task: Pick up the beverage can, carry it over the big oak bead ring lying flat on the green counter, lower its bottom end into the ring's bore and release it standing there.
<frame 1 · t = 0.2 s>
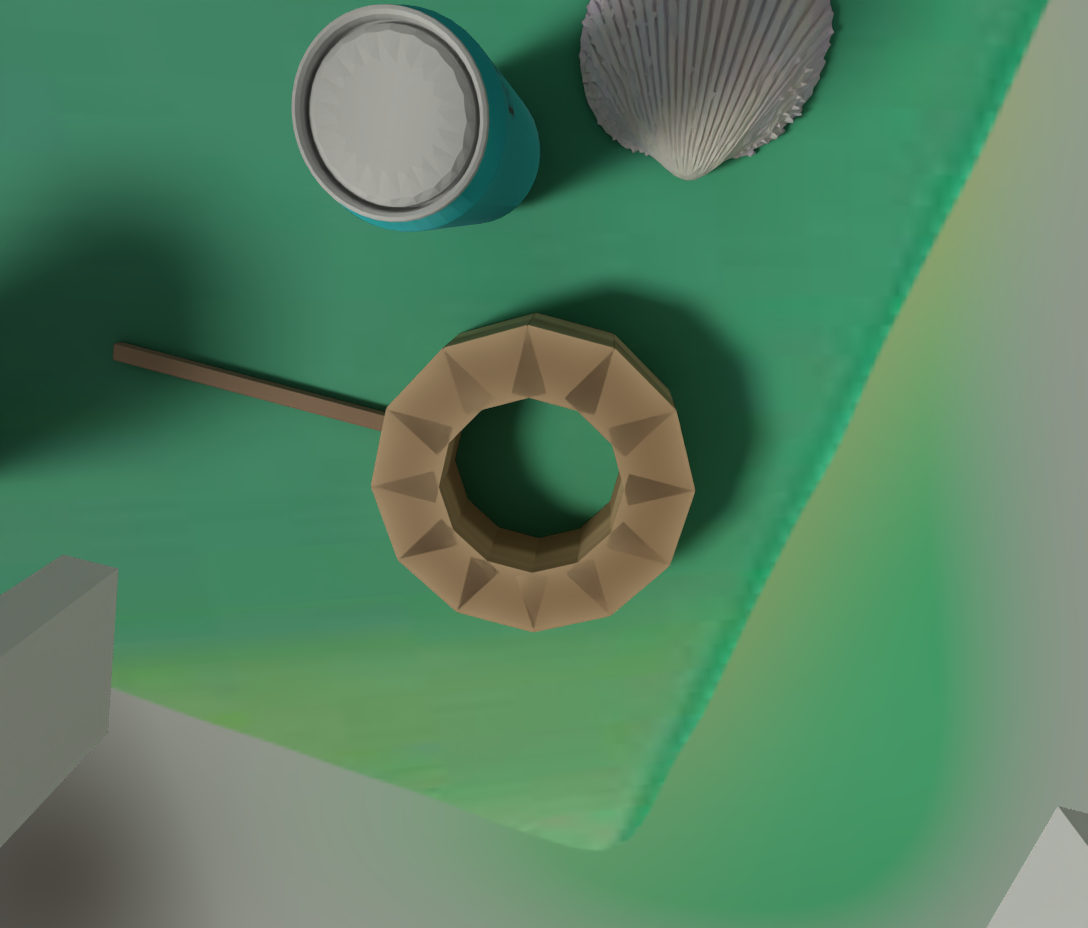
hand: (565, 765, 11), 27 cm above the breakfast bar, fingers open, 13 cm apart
beverage can: (479, 154, 34), on the breakfast bar
seashell: (701, 50, 33), on the breakfast bar
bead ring: (537, 460, 38), on the breakfast bar
brown stick: (258, 386, 38), on the breakfast bar
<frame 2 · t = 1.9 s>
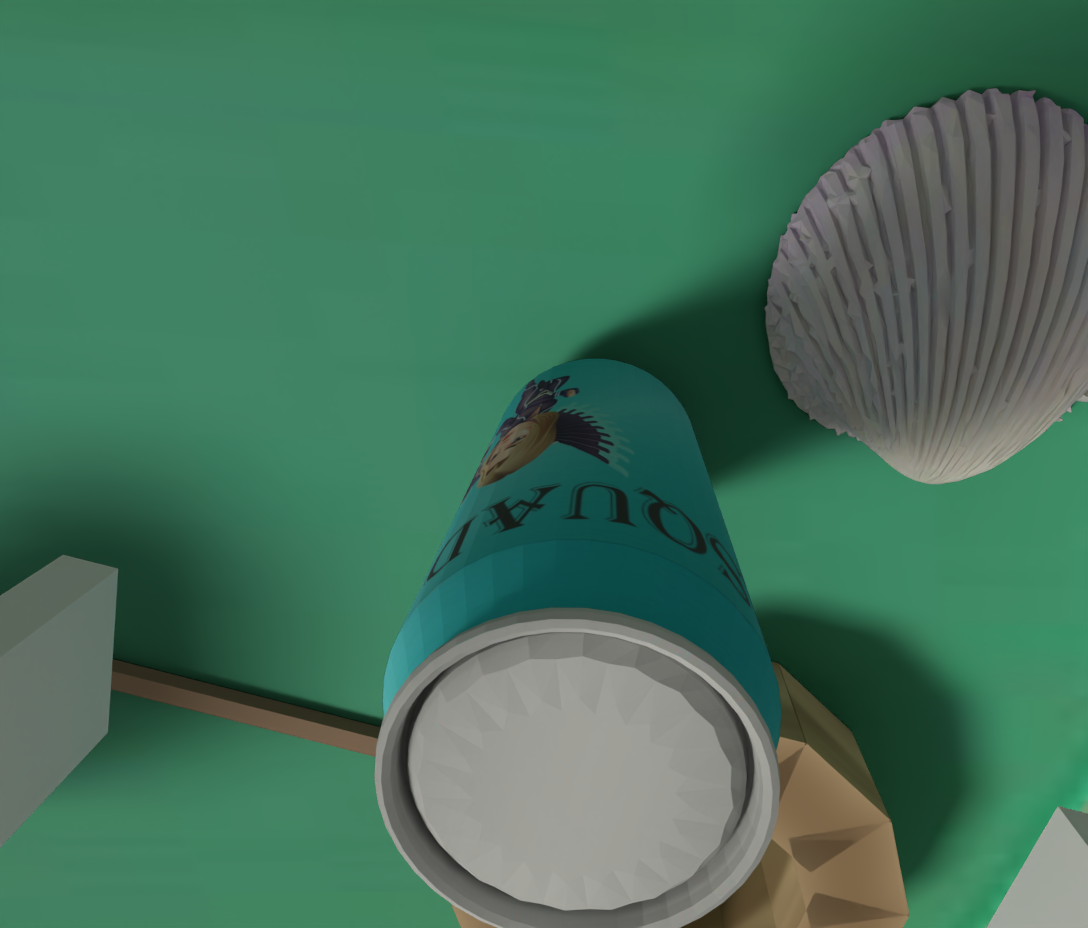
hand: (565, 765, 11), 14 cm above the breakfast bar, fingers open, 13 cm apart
beverage can: (596, 437, 24), on the breakfast bar
seashell: (943, 292, 22), on the breakfast bar
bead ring: (663, 808, 28), on the breakfast bar
brown stick: (286, 712, 28), on the breakfast bar
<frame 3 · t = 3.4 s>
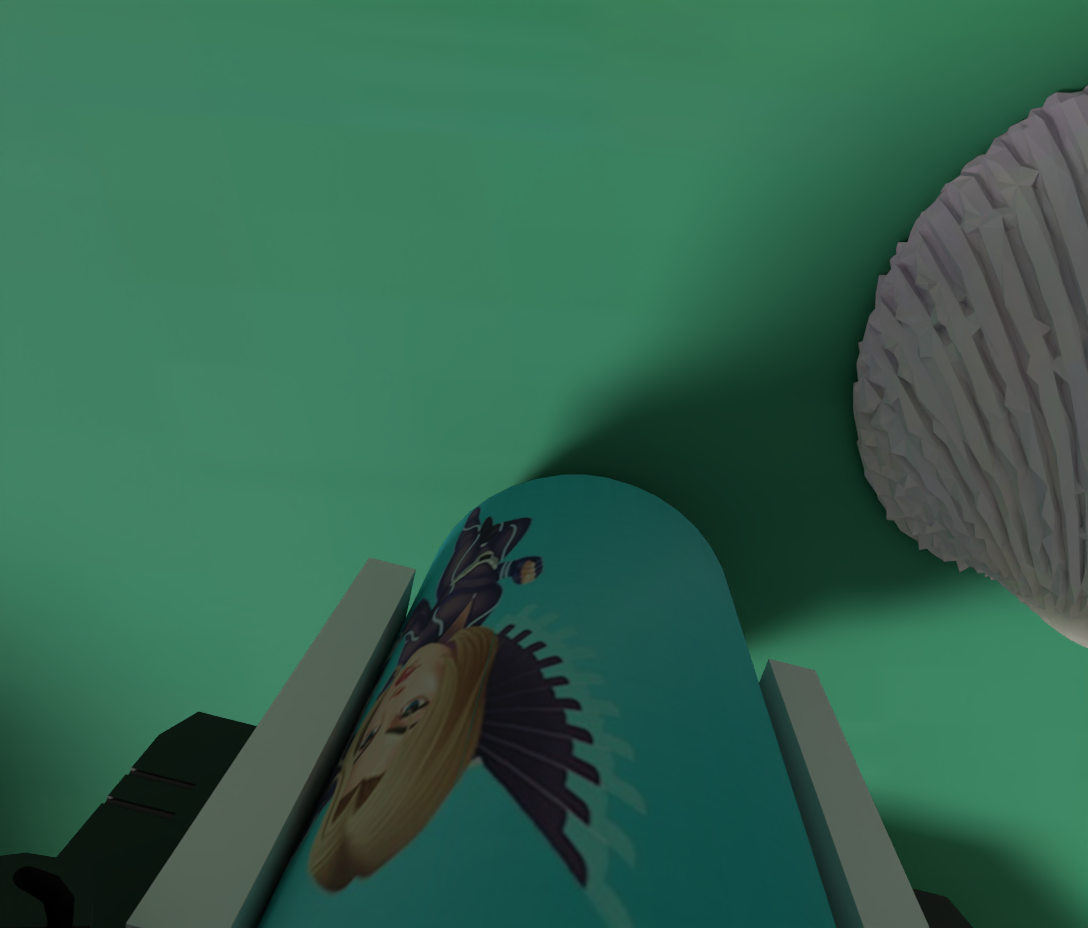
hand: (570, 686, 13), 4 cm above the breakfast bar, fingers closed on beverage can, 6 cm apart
beverage can: (579, 572, 16), on the breakfast bar, touching gripper
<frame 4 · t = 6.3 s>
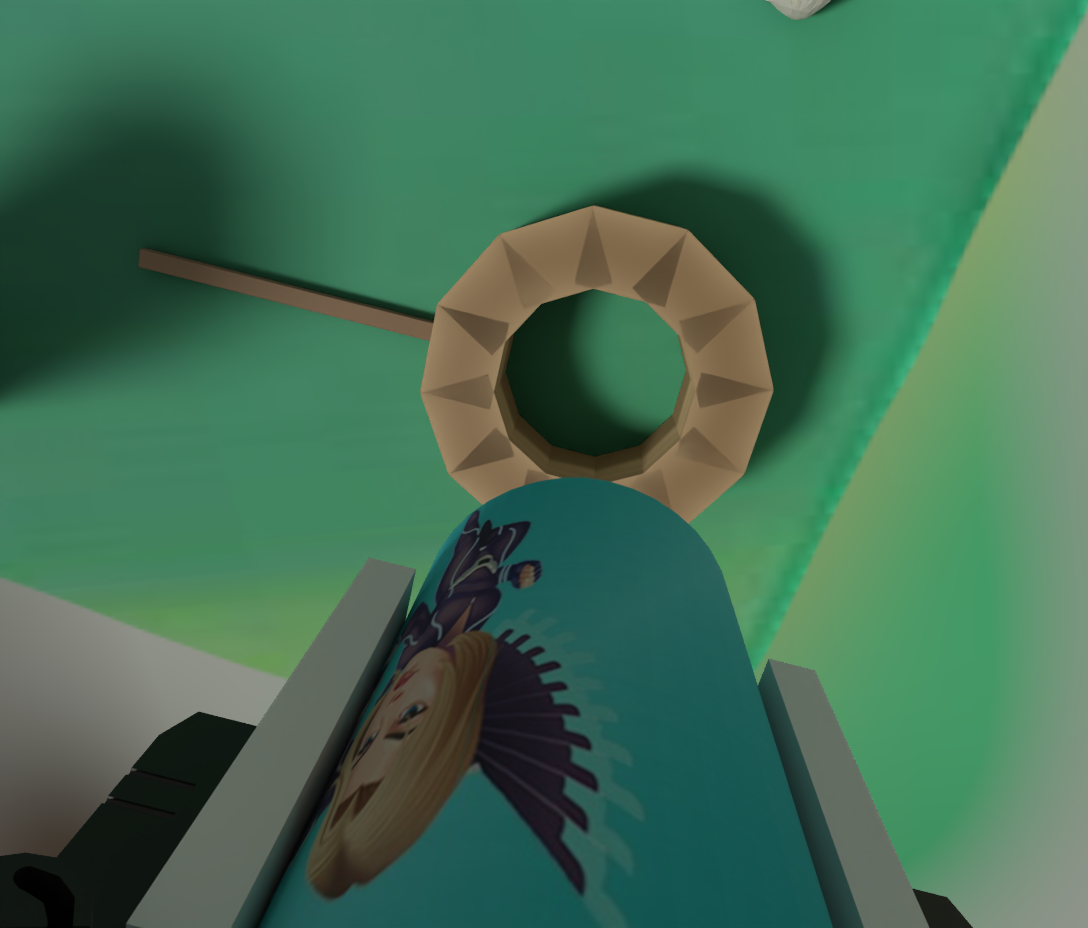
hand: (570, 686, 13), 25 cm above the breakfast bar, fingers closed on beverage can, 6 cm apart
beverage can: (578, 575, 16), point 20 cm above the breakfast bar, touching gripper
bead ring: (595, 371, 36), on the breakfast bar
brown stick: (294, 294, 36), on the breakfast bar
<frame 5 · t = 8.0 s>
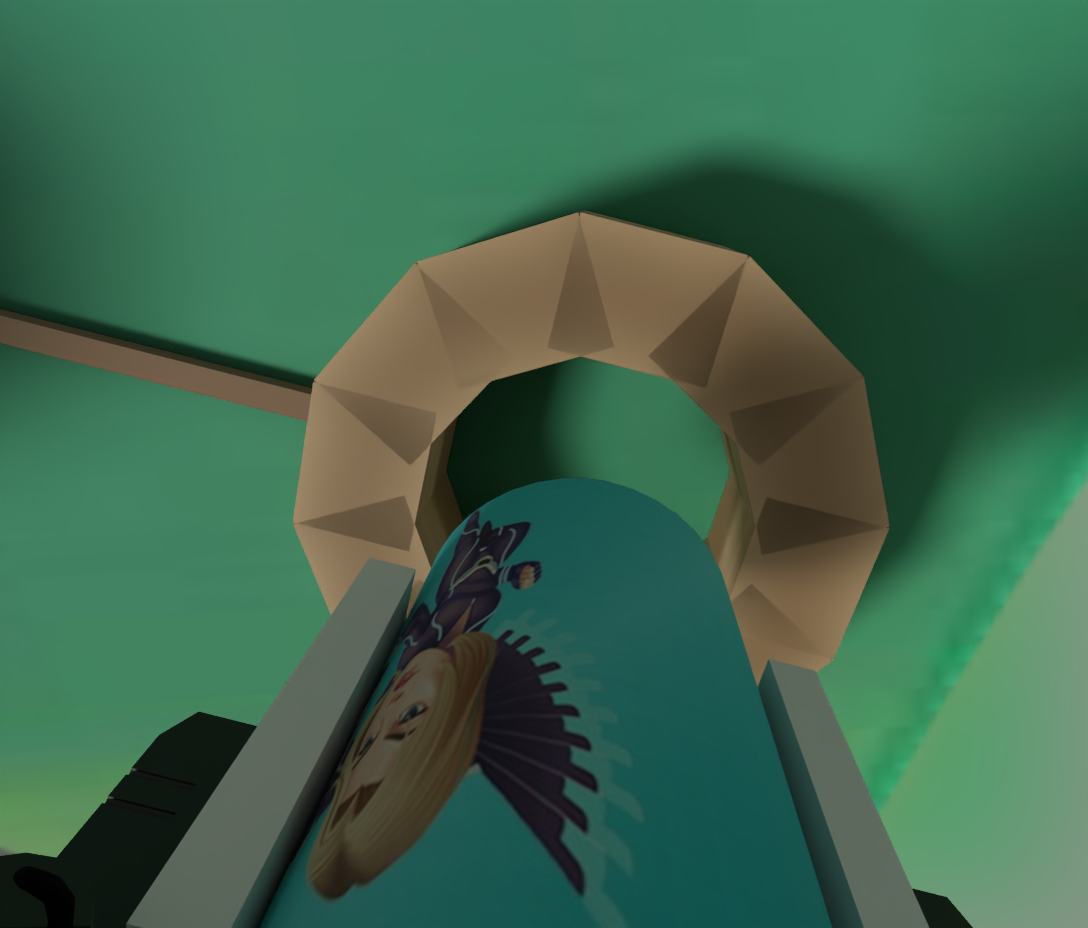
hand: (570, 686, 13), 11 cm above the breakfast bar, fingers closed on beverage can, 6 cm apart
beverage can: (578, 575, 16), point 7 cm above the breakfast bar, touching gripper
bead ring: (586, 471, 23), on the breakfast bar
brown stick: (112, 350, 23), on the breakfast bar
when the fingers open (5 cm above the breakfast bar, at t = 9.5 s): beverage can drops 1 cm, resting in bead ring.
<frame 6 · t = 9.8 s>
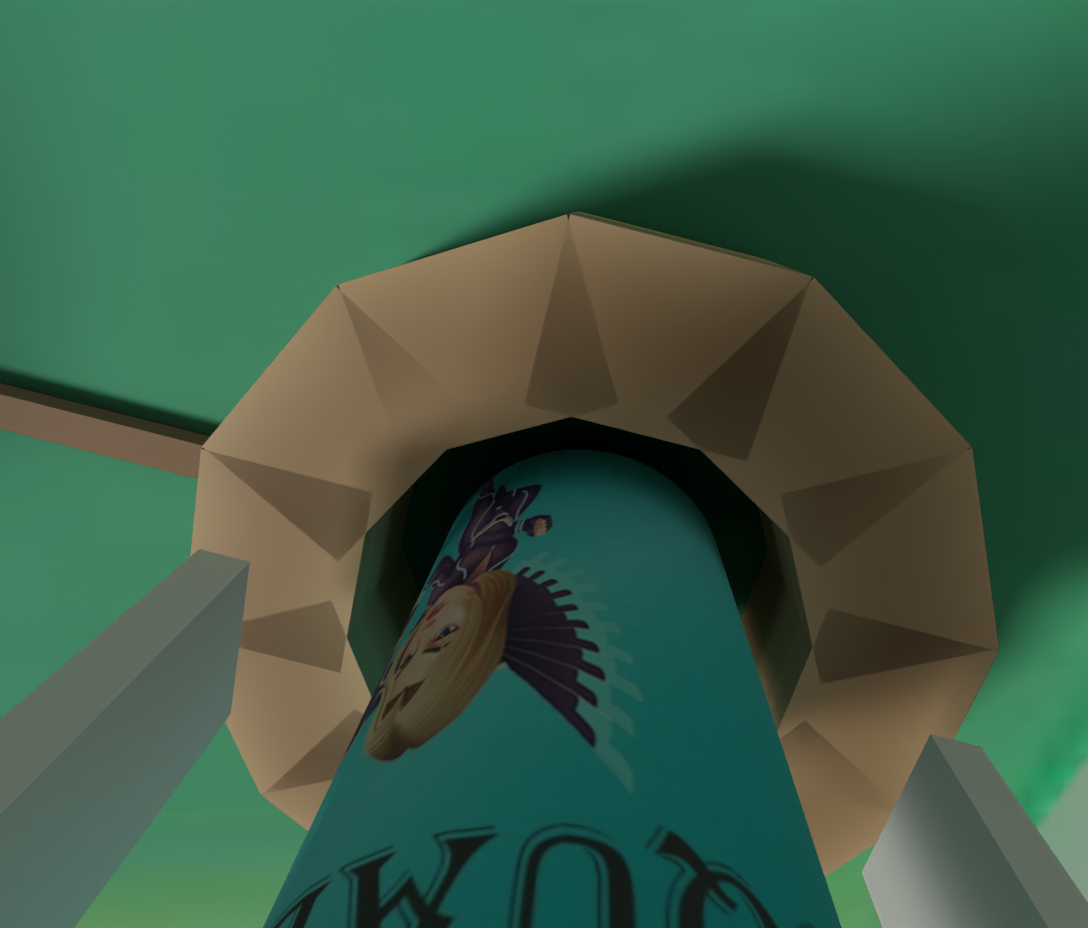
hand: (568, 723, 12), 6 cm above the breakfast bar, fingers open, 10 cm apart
beverage can: (582, 543, 18), resting in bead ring
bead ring: (581, 547, 18), on the breakfast bar
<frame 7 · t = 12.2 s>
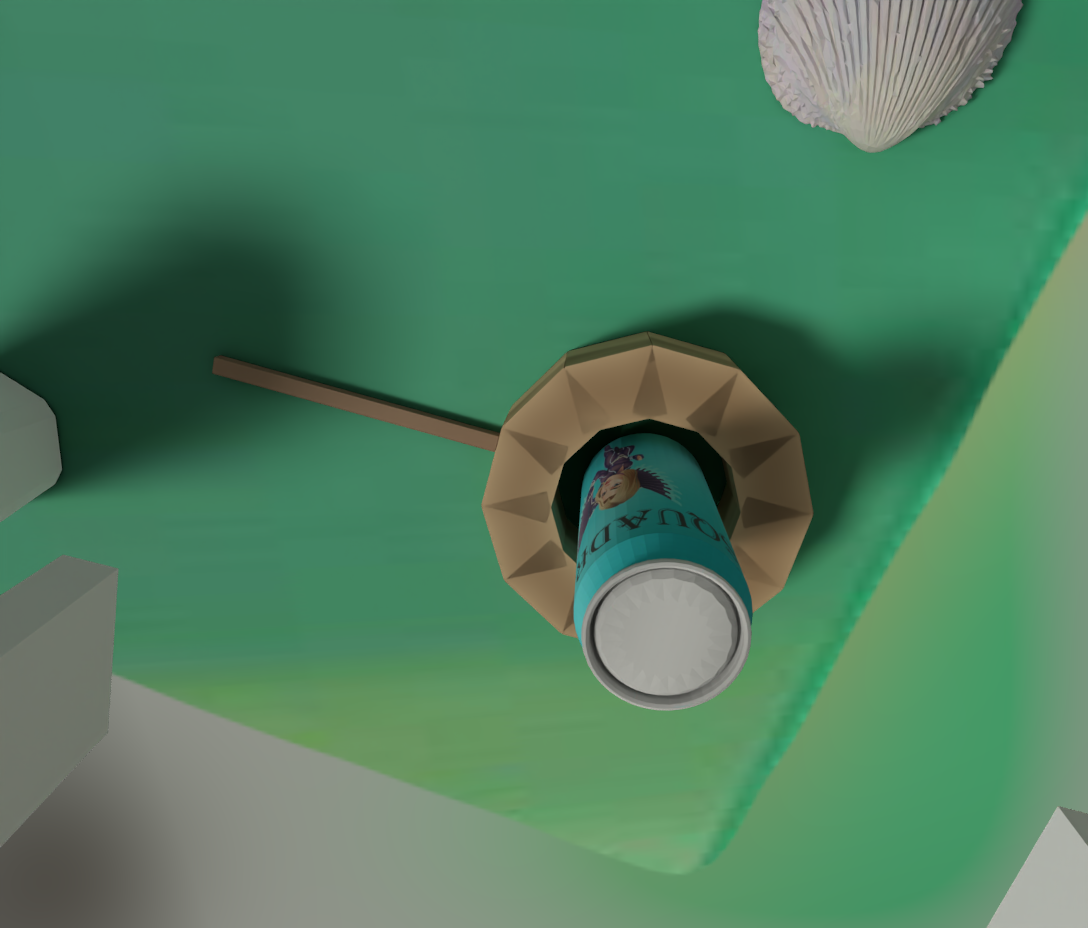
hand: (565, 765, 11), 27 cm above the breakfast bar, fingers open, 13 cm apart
beverage can: (641, 479, 38), resting in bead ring
seashell: (881, 19, 32), on the breakfast bar
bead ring: (640, 480, 38), on the breakfast bar
brown stick: (359, 402, 38), on the breakfast bar
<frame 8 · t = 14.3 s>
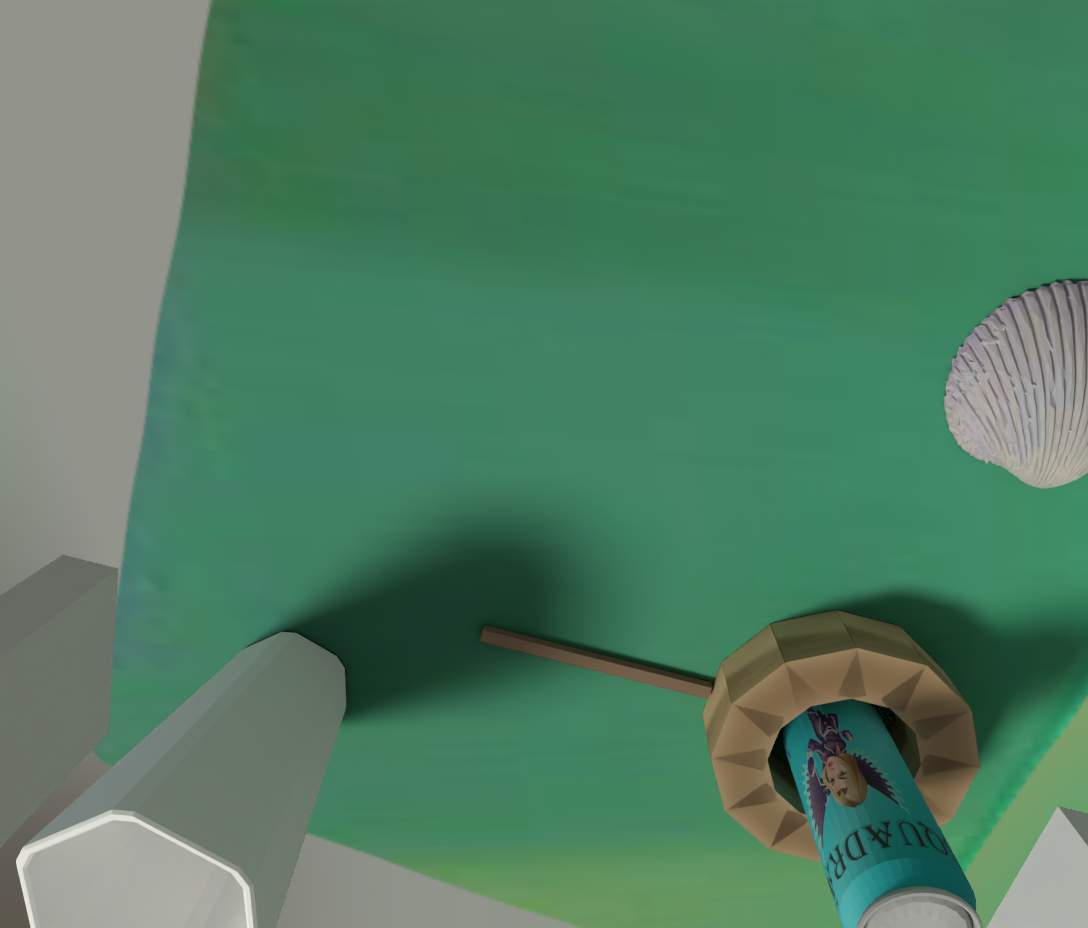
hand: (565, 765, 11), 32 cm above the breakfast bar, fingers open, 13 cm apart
beverage can: (824, 714, 47), resting in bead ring
seashell: (1042, 382, 40), on the breakfast bar
cup: (294, 680, 49), on the breakfast bar
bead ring: (824, 716, 47), on the breakfast bar
brown stick: (595, 659, 47), on the breakfast bar
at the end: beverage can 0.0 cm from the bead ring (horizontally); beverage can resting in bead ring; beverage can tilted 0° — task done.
